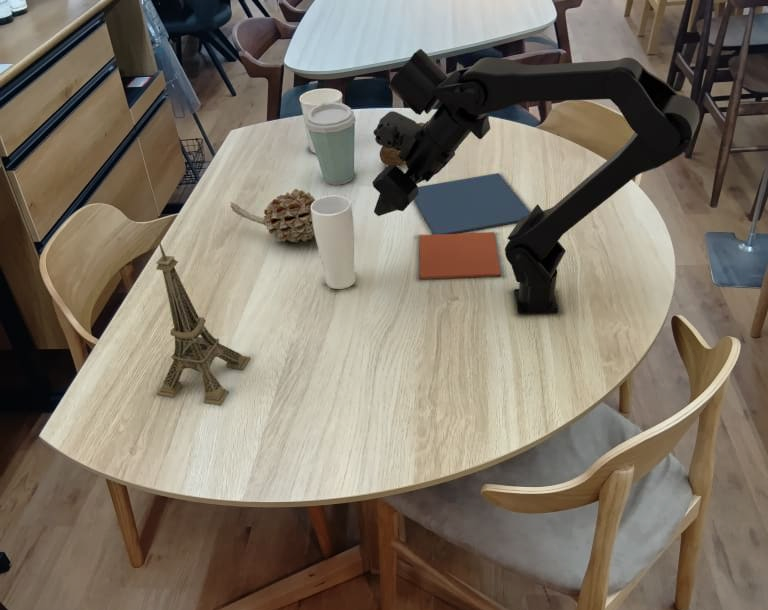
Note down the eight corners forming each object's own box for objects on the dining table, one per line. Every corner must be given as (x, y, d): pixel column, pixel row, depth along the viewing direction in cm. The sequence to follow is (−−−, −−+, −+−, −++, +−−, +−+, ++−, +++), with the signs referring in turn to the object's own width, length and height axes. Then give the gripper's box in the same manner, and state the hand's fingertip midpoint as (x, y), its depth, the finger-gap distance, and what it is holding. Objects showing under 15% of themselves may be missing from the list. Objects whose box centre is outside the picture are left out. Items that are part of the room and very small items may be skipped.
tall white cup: (355, 294, 115) (345, 216, 105) (317, 291, 116) (304, 214, 106) (363, 272, 120) (355, 195, 110) (327, 270, 121) (316, 194, 111)
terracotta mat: (500, 276, 116) (500, 273, 116) (419, 279, 117) (419, 276, 117) (493, 234, 126) (493, 232, 126) (419, 237, 127) (419, 235, 127)
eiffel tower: (220, 405, 97) (172, 258, 80) (157, 394, 100) (96, 250, 83) (250, 358, 104) (211, 214, 87) (190, 350, 107) (141, 208, 90)
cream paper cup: (301, 144, 162) (293, 94, 154) (338, 135, 165) (332, 85, 157) (315, 159, 155) (308, 107, 147) (353, 149, 158) (348, 98, 150)
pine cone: (342, 230, 131) (336, 183, 124) (325, 256, 125) (318, 208, 118) (242, 220, 137) (231, 174, 130) (220, 244, 130) (207, 198, 123)
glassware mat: (534, 219, 129) (534, 217, 129) (435, 237, 127) (435, 235, 127) (498, 175, 144) (498, 173, 143) (408, 190, 141) (408, 188, 141)
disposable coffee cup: (368, 183, 145) (362, 114, 135) (321, 194, 143) (312, 125, 132) (352, 164, 152) (345, 97, 142) (307, 175, 150) (297, 107, 140)
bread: (378, 168, 150) (376, 144, 146) (414, 134, 162) (413, 111, 158) (403, 172, 148) (402, 147, 144) (438, 138, 160) (437, 114, 156)
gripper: (428, 74, 103) (378, 143, 115) (372, 120, 91) (323, 192, 103) (480, 125, 105) (425, 188, 117) (431, 177, 93) (377, 241, 105)
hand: (389, 200), depth 110 cm, fingers open, 9 cm apart
